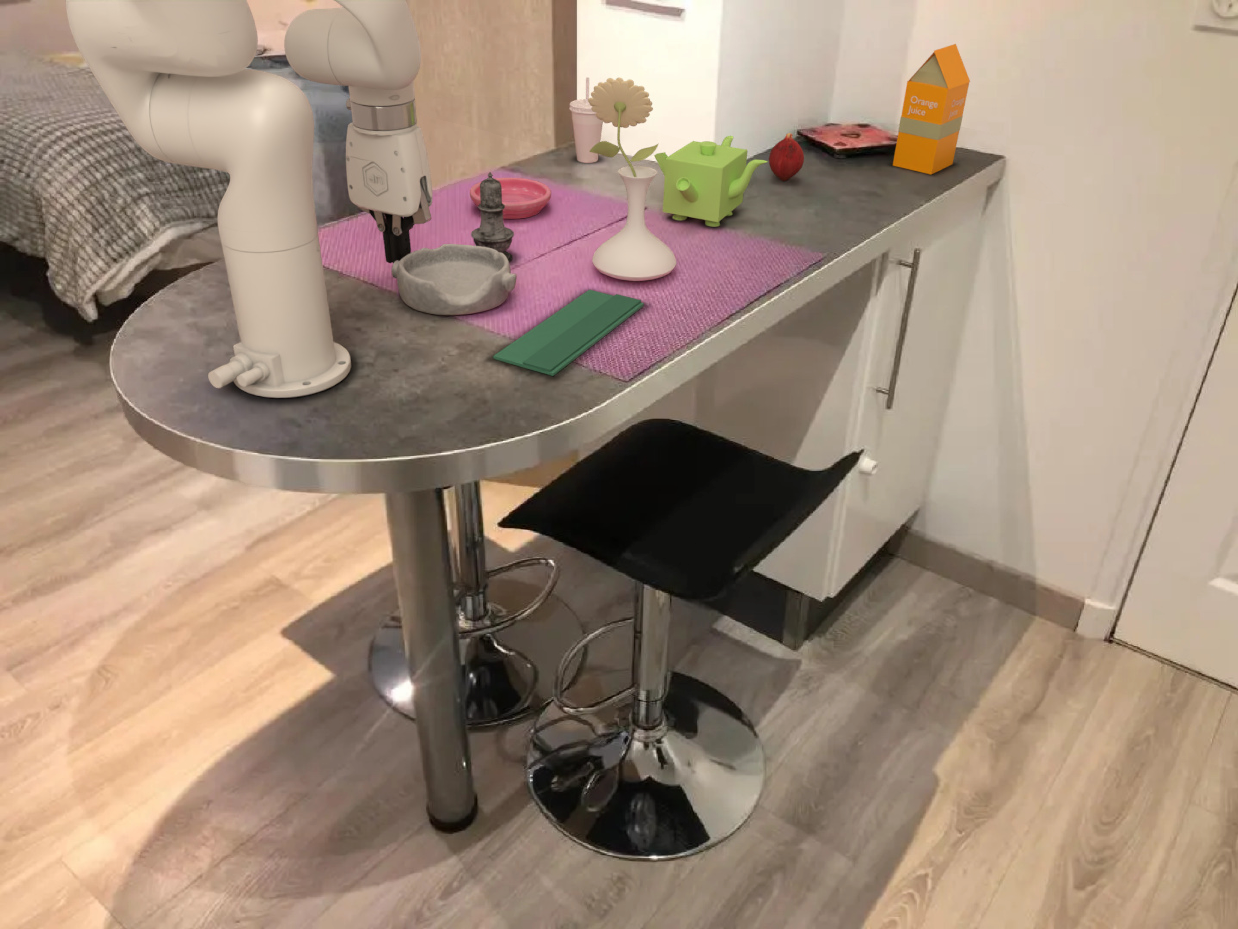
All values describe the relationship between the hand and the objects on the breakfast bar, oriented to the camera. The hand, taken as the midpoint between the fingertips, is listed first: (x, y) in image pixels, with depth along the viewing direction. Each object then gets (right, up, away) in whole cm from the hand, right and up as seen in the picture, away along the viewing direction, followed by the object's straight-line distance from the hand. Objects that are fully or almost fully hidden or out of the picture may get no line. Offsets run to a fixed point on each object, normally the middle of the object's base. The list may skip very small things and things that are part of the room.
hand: (398, 259), depth 131 cm
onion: (+56, +22, +42) cm, 74 cm away
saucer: (+12, +13, +27) cm, 32 cm away
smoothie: (+23, +28, +50) cm, 61 cm away
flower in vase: (+30, 0, +8) cm, 31 cm away
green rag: (+23, -10, -9) cm, 26 cm away
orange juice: (+83, +28, +53) cm, 102 cm away
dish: (+7, -5, -1) cm, 9 cm away
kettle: (+42, +12, +27) cm, 51 cm away
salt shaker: (+11, +2, +10) cm, 15 cm away
